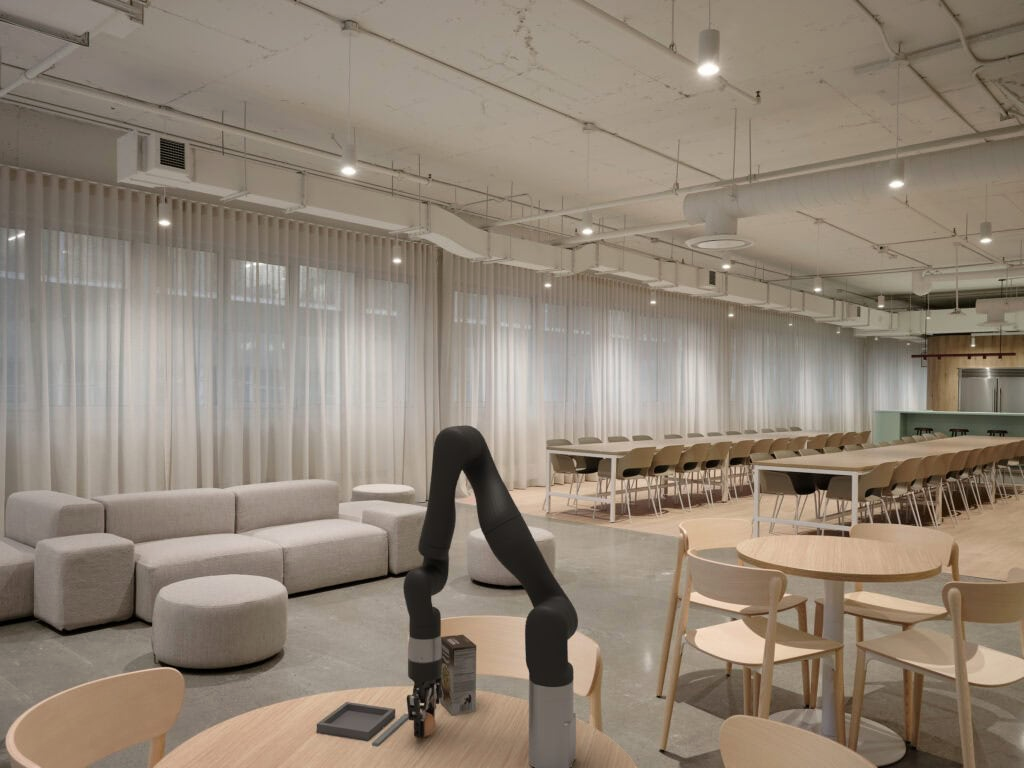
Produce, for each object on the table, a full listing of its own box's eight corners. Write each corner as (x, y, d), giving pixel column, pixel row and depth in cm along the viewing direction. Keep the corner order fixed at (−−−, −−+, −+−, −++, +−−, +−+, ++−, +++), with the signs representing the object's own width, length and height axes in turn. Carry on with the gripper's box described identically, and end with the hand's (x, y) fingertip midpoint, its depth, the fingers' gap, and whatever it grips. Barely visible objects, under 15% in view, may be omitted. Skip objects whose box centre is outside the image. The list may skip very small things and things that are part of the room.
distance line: (410, 716, 182) (410, 714, 182) (378, 746, 167) (378, 743, 167) (404, 715, 182) (404, 713, 182) (372, 745, 167) (372, 742, 167)
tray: (395, 717, 181) (395, 709, 181) (368, 741, 169) (368, 732, 169) (346, 710, 185) (346, 701, 185) (316, 732, 173) (316, 723, 173)
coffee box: (438, 702, 191) (439, 636, 191) (462, 697, 193) (463, 633, 193) (451, 716, 182) (451, 647, 182) (476, 711, 185) (477, 644, 185)
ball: (439, 732, 174) (439, 710, 174) (430, 742, 169) (430, 719, 169) (418, 729, 175) (419, 707, 175) (409, 738, 170) (409, 716, 170)
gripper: (427, 668, 164) (426, 748, 164) (452, 646, 178) (452, 721, 178) (395, 663, 167) (394, 743, 166) (423, 643, 180) (422, 716, 180)
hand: (424, 731), depth 172 cm, fingers closed on ball, 5 cm apart
